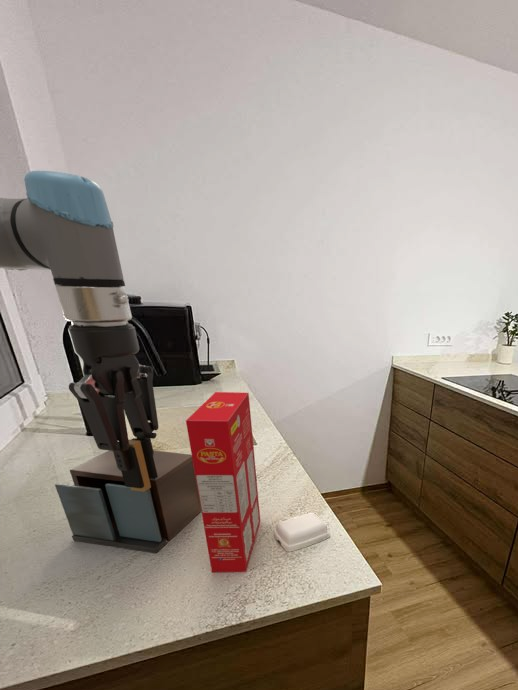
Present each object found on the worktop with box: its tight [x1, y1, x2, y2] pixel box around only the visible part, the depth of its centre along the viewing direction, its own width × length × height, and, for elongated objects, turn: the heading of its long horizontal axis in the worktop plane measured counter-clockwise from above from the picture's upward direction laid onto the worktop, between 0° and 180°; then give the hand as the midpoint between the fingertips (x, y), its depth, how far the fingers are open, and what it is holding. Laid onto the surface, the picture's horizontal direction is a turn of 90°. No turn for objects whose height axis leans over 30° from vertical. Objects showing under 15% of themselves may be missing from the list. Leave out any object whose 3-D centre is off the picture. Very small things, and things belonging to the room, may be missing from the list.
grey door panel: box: [105, 439, 162, 542], centre depth 62 cm, size 8×2×18 cm, turn 80°
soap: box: [273, 512, 331, 552], centre depth 70 cm, size 9×7×3 cm
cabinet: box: [54, 449, 202, 554], centre depth 69 cm, size 16×14×12 cm
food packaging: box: [185, 391, 261, 573], centre depth 62 cm, size 15×5×25 cm, turn 4°
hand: (142, 481), depth 61 cm, fingers open, 2 cm apart
